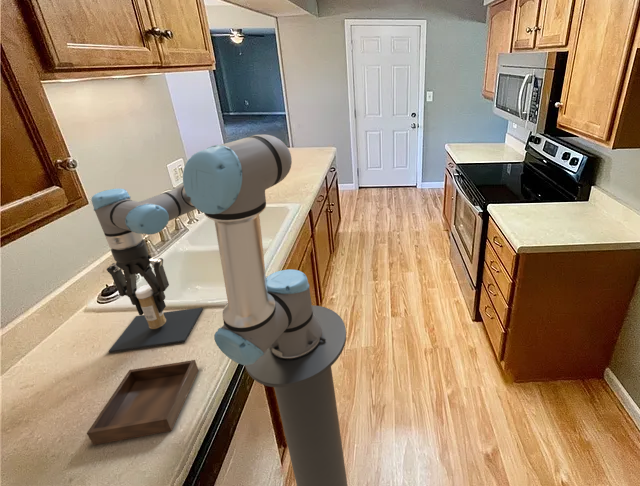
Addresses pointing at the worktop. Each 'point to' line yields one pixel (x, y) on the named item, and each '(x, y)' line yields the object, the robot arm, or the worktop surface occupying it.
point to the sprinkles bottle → (150, 307)
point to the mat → (157, 331)
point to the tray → (145, 402)
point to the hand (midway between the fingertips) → (152, 310)
